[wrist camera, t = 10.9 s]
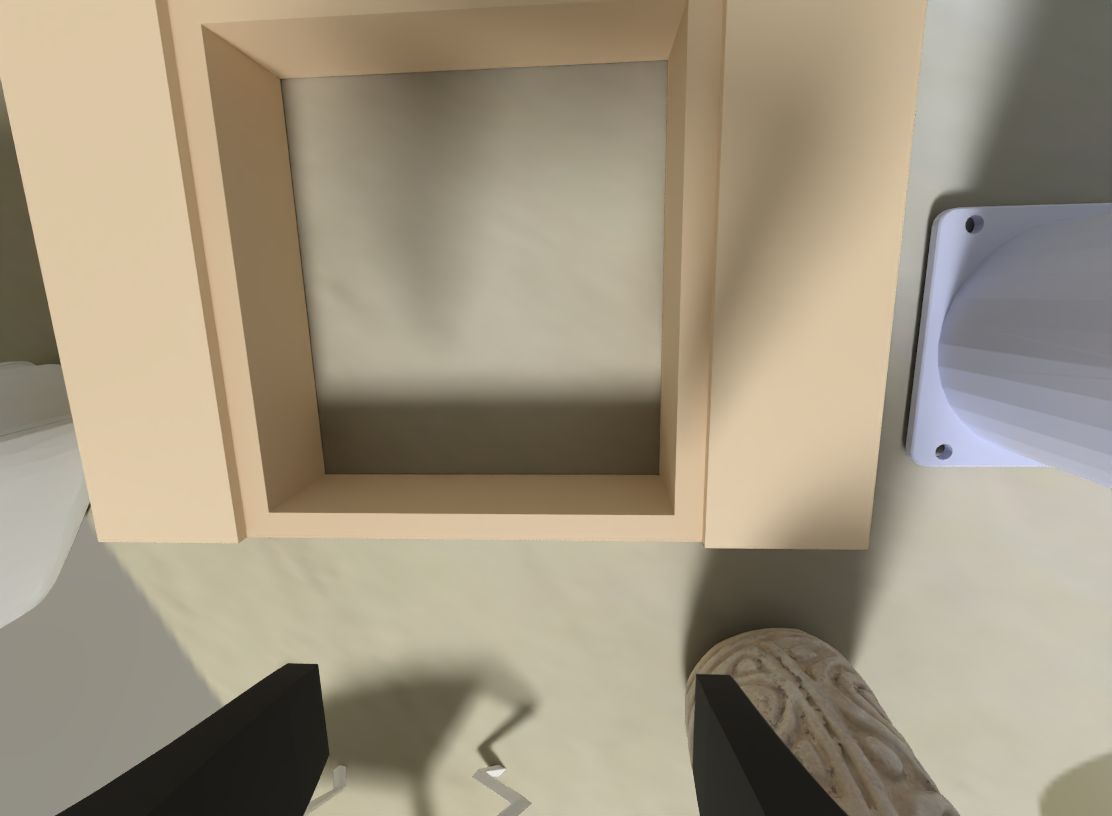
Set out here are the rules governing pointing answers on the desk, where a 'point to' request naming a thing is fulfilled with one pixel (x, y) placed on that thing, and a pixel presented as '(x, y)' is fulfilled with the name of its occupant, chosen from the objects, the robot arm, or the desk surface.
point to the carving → (824, 721)
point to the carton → (277, 282)
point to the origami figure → (481, 775)
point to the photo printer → (36, 484)
